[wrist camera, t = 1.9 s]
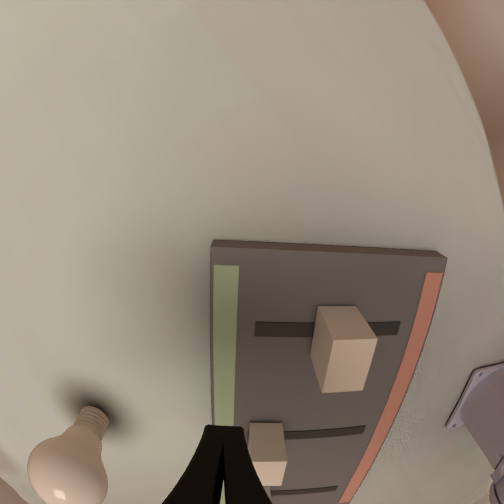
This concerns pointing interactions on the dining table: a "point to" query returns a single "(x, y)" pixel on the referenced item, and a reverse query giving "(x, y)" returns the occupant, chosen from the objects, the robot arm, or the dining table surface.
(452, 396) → the dining table surface
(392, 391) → the breaker panel
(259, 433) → the breaker middle
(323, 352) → the block
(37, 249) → the dining table surface
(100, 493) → the lightbulb
